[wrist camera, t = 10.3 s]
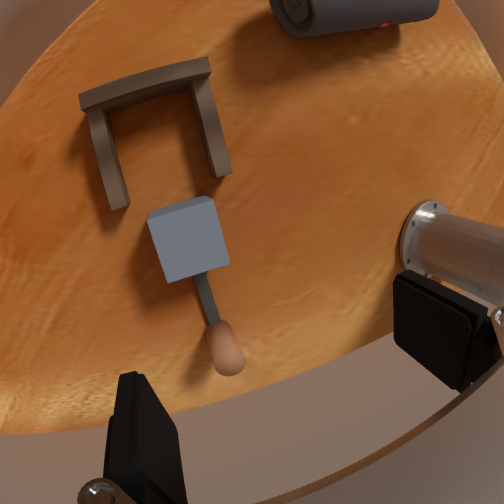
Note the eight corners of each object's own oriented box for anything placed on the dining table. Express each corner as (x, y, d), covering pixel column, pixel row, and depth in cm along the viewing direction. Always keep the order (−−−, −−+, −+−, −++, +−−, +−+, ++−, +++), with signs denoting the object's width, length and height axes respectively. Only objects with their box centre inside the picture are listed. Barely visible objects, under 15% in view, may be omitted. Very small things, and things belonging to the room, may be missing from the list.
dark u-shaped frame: (226, 173, 32) (237, 173, 27) (116, 207, 29) (107, 214, 25) (201, 72, 28) (207, 56, 23) (90, 104, 26) (78, 94, 21)
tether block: (244, 333, 37) (261, 365, 31) (198, 349, 36) (207, 383, 30) (204, 194, 32) (215, 201, 25) (150, 211, 30) (145, 222, 24)
